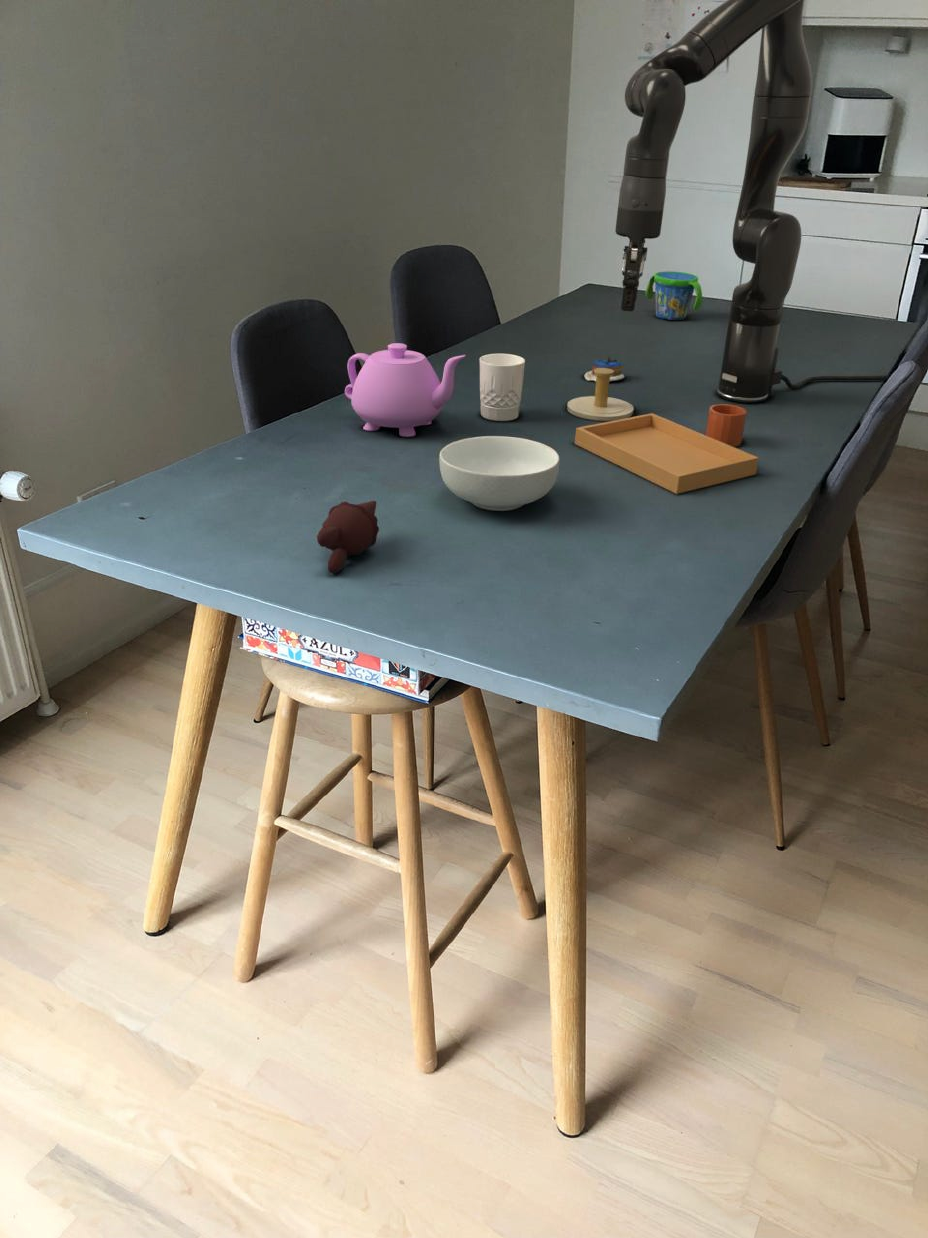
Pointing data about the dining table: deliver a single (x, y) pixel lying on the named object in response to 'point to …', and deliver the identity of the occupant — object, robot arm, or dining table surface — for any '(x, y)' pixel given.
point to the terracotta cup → (726, 423)
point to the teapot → (398, 389)
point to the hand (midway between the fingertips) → (628, 305)
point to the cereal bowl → (499, 471)
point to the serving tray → (666, 452)
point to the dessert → (606, 364)
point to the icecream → (348, 531)
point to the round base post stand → (600, 401)
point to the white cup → (501, 386)
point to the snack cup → (674, 294)
